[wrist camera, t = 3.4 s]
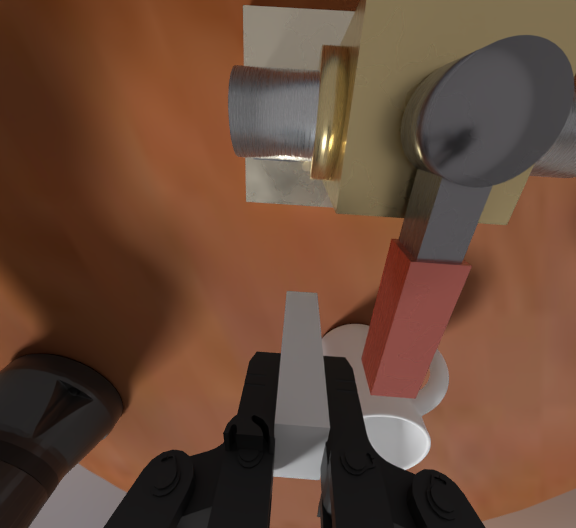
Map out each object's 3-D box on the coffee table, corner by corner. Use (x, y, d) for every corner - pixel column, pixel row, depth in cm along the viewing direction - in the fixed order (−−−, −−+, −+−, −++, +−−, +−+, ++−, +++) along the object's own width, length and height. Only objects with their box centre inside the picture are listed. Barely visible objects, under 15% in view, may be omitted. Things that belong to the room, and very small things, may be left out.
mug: (400, 290, 26) (454, 378, 17) (435, 342, 28) (498, 442, 19) (301, 342, 29) (301, 438, 20) (340, 384, 32) (356, 485, 23)
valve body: (248, 198, 22) (213, 243, 13) (246, 11, 17) (184, -123, 8) (485, 214, 22) (610, 271, 13) (560, 29, 17) (863, -89, 8)
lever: (415, 56, 9) (454, 30, 7) (527, 63, 9) (605, 39, 7) (348, 357, 16) (356, 397, 14) (412, 362, 16) (432, 403, 14)
